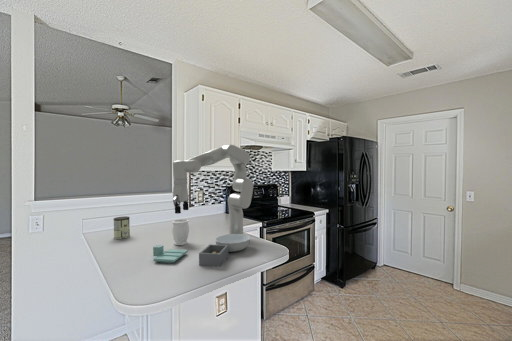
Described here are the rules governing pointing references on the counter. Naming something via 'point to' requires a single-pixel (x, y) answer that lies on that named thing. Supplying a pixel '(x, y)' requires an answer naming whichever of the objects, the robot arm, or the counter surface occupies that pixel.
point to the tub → (213, 255)
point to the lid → (167, 254)
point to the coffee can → (121, 227)
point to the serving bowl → (233, 241)
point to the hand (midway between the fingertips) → (182, 211)
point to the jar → (180, 231)
